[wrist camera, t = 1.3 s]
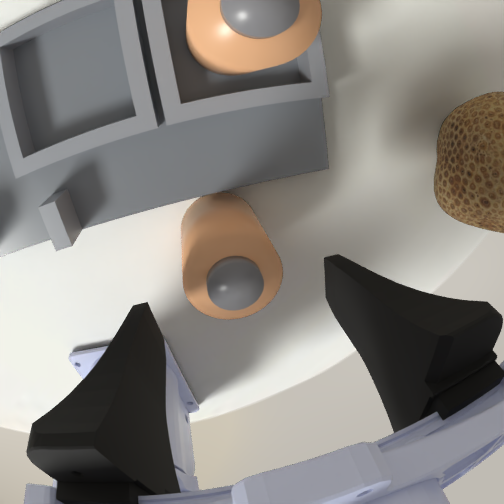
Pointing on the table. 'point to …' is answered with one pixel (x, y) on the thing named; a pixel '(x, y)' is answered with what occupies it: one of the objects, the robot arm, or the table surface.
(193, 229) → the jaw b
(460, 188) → the natural sponge
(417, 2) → the table surface
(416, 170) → the table surface
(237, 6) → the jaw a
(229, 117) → the housing
